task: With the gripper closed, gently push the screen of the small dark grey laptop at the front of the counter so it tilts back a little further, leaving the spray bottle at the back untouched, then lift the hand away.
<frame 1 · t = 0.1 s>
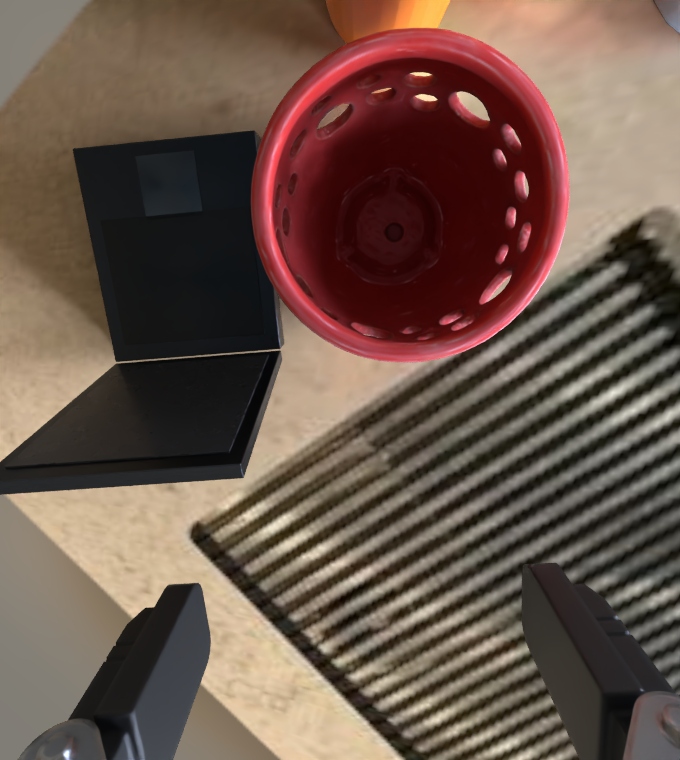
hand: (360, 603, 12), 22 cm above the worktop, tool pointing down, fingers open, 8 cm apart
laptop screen: (164, 406, 25), point 8 cm above the worktop, hinge at 100.0°
flower pot: (387, 228, 31), on the worktop
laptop: (190, 253, 31), on the worktop
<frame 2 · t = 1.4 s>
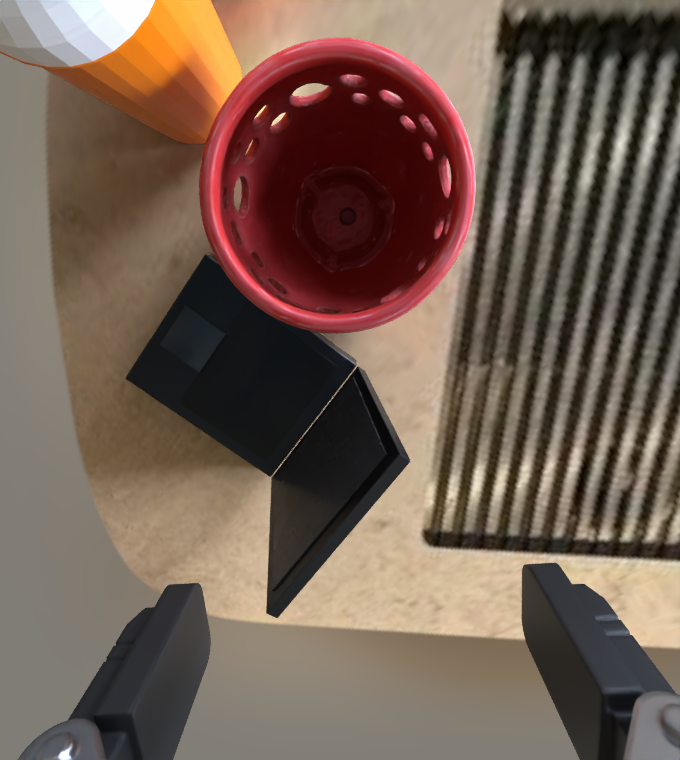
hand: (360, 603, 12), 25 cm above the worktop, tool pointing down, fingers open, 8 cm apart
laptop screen: (323, 471, 29), point 8 cm above the worktop, hinge at 100.0°
shaker bottle: (192, 88, 32), on the worktop
flower pot: (341, 218, 33), on the worktop
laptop: (245, 366, 36), on the worktop
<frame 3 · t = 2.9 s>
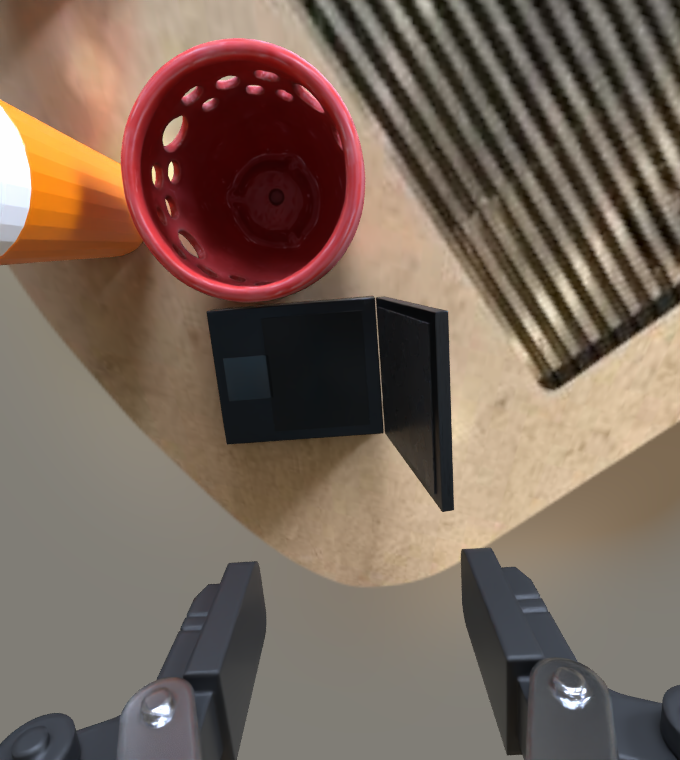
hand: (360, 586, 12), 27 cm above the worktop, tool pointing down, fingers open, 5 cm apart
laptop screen: (408, 387, 31), point 8 cm above the worktop, hinge at 100.0°
shaker bottle: (109, 210, 37), on the worktop
flower pot: (275, 204, 36), on the worktop
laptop: (299, 369, 39), on the worktop
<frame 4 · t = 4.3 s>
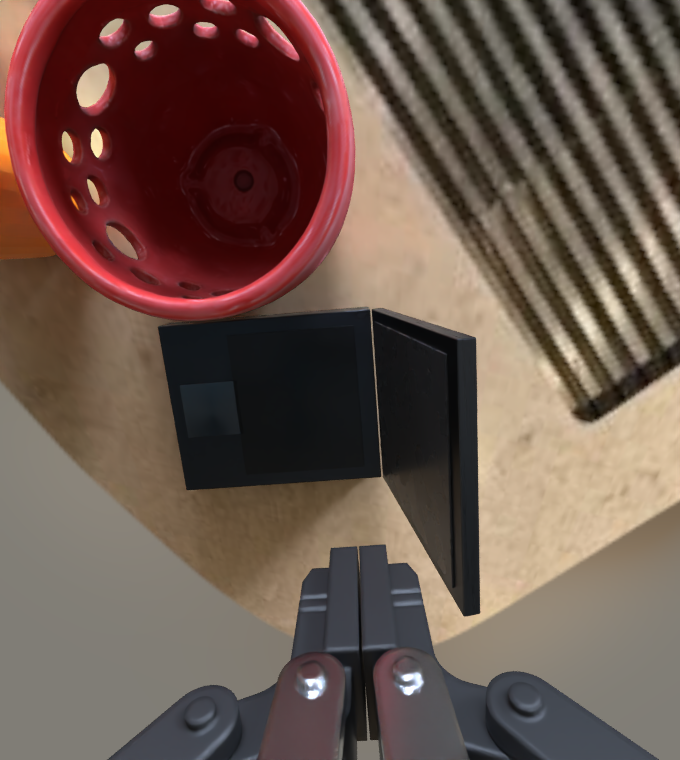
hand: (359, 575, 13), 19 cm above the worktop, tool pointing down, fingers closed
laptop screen: (413, 429, 23), point 8 cm above the worktop, hinge at 100.0°
shaker bottle: (35, 198, 29), on the worktop
flower pot: (245, 191, 29), on the worktop
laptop: (277, 396, 32), on the worktop
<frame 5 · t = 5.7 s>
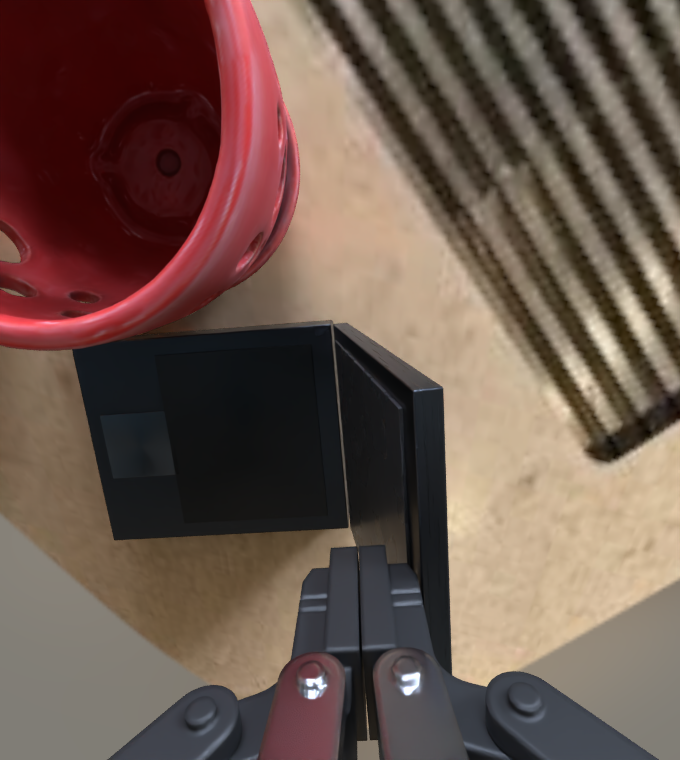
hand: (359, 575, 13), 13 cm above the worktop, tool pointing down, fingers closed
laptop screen: (376, 487, 18), point 8 cm above the worktop, hinge at 100.7°, touching gripper
flower pot: (178, 178, 23), on the worktop
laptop: (224, 428, 26), on the worktop
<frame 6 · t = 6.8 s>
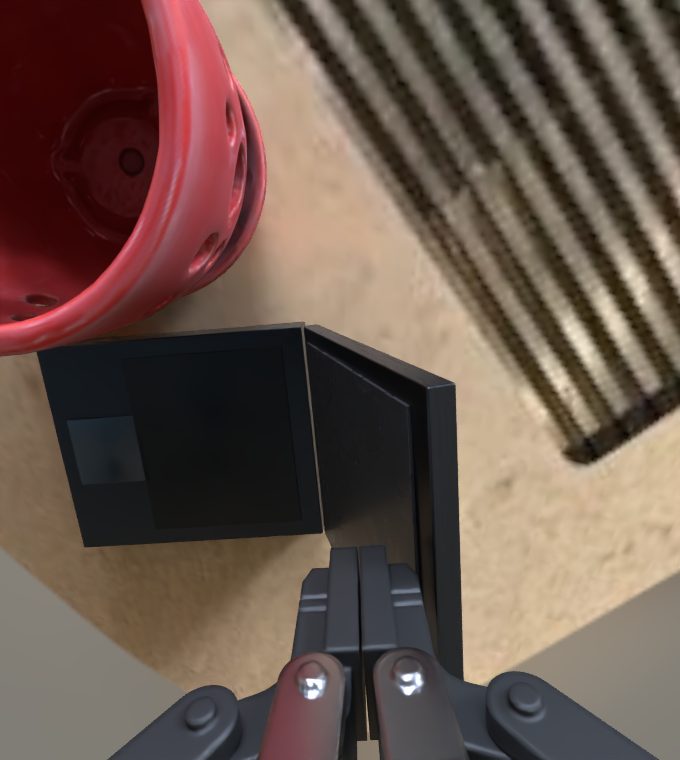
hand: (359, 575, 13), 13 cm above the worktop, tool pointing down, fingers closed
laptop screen: (361, 489, 18), point 8 cm above the worktop, hinge at 107.8°
flower pot: (144, 177, 23), on the worktop
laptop: (196, 432, 26), on the worktop
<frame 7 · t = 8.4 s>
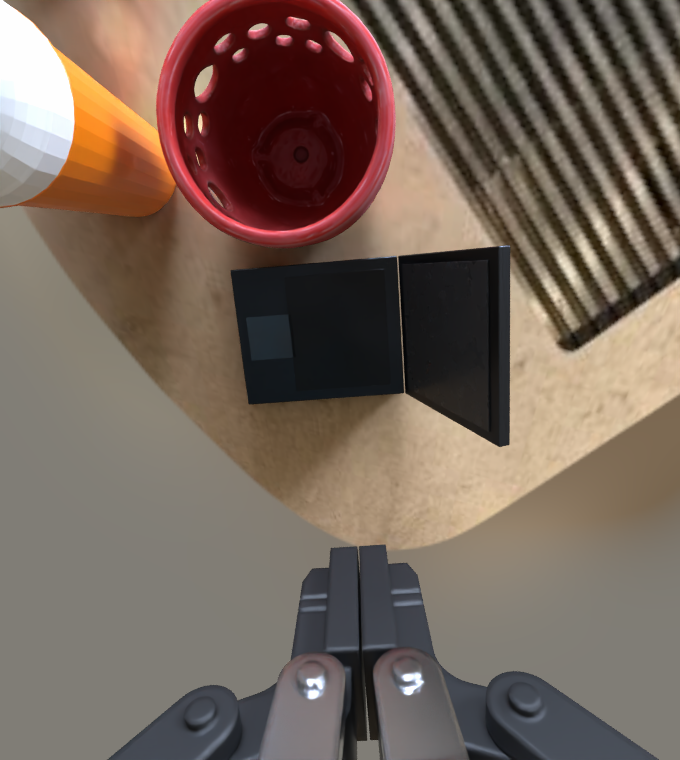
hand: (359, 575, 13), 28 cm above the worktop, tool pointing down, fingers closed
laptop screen: (445, 336, 32), point 8 cm above the worktop, hinge at 107.8°
shaker bottle: (134, 170, 37), on the worktop
flower pot: (299, 164, 37), on the worktop
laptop: (320, 330, 40), on the worktop
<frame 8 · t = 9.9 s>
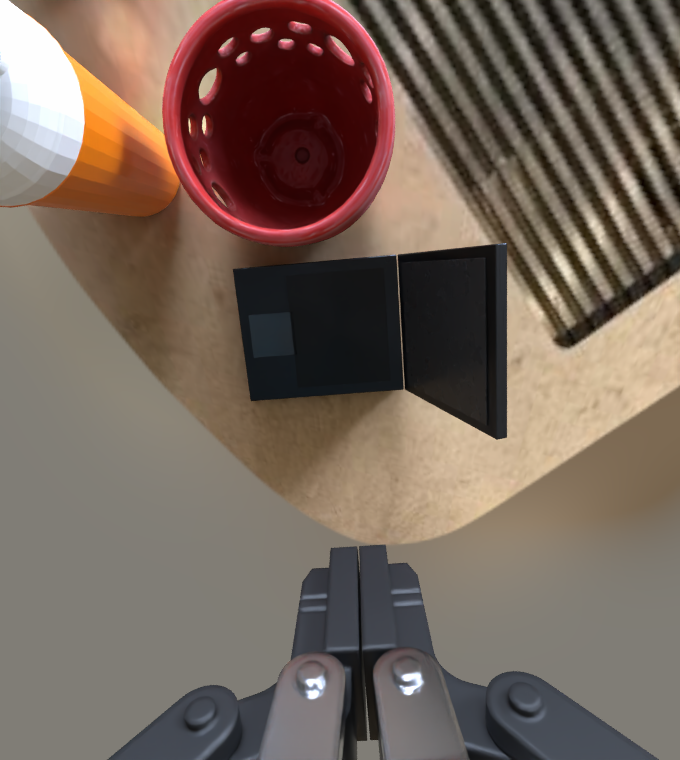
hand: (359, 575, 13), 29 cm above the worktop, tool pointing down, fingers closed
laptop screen: (443, 333, 32), point 8 cm above the worktop, hinge at 107.8°
shaker bottle: (138, 170, 38), on the worktop
flower pot: (300, 165, 37), on the worktop
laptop: (321, 328, 40), on the worktop
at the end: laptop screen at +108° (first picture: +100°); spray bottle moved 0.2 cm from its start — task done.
